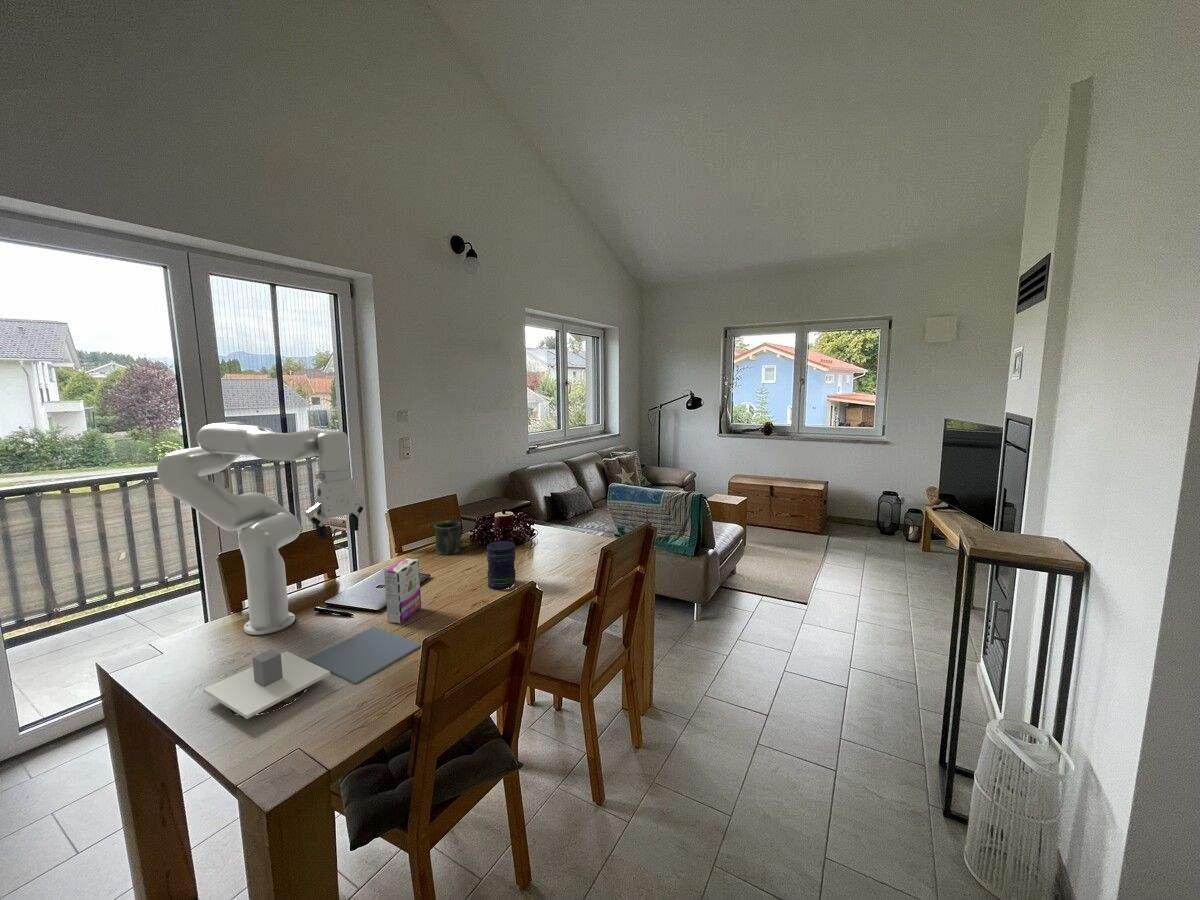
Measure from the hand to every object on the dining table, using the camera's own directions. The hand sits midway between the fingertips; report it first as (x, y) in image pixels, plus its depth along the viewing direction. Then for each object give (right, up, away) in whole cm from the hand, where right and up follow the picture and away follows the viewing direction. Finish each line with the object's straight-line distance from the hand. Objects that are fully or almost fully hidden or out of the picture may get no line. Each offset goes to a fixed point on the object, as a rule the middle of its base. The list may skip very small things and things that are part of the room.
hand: (338, 534), depth 141 cm
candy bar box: (+14, -27, +12) cm, 33 cm away
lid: (-1, -30, -28) cm, 41 cm away
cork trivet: (-2, -33, -27) cm, 43 cm away
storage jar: (+40, -25, +35) cm, 59 cm away
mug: (+11, -19, +71) cm, 75 cm away
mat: (+13, -30, -10) cm, 34 cm away
